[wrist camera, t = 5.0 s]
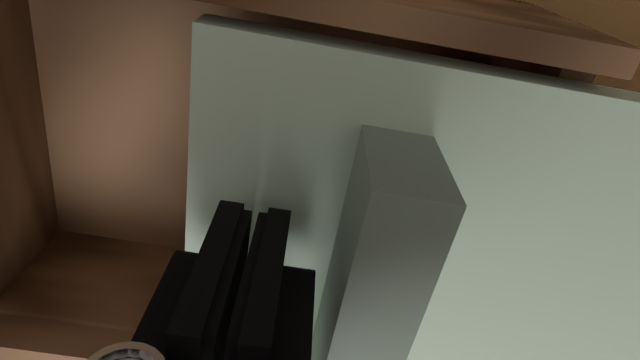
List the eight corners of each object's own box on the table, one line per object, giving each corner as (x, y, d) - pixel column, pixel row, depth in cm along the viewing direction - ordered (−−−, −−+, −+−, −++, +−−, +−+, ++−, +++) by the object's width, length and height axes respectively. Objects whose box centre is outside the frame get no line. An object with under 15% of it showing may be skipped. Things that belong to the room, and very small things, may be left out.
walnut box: (528, 2, 14) (646, 51, 9) (422, 286, 20) (454, 419, 15) (3, -99, 13) (-220, -112, 8) (51, 231, 19) (-59, 352, 14)
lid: (846, 130, 11) (1076, 223, 7) (631, 397, 16) (712, 525, 12) (205, 13, 10) (139, 59, 6) (190, 336, 15) (148, 457, 11)
